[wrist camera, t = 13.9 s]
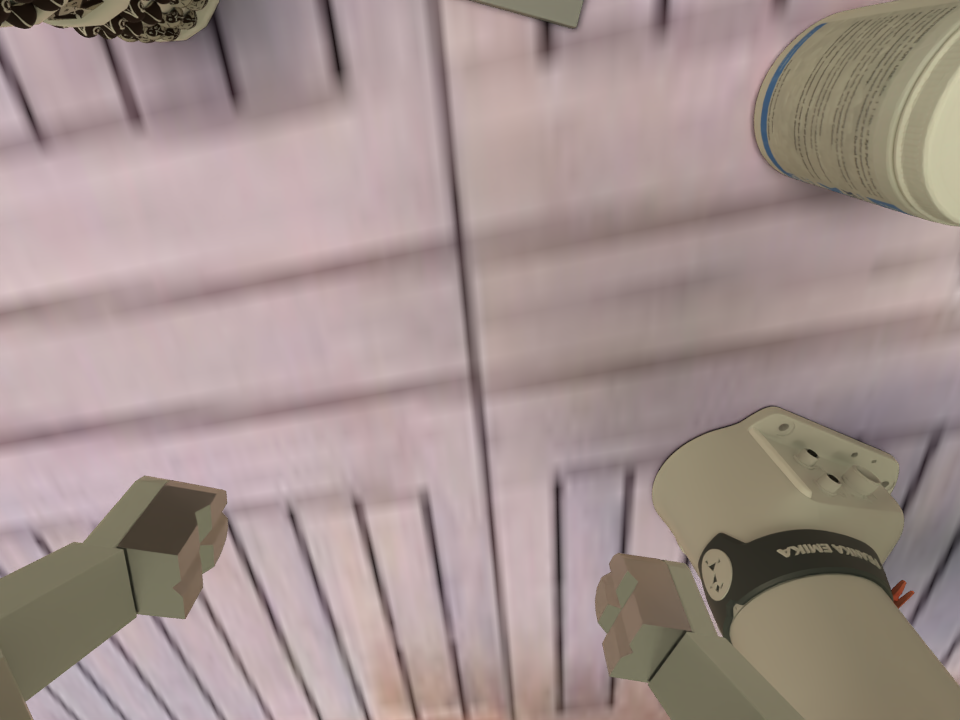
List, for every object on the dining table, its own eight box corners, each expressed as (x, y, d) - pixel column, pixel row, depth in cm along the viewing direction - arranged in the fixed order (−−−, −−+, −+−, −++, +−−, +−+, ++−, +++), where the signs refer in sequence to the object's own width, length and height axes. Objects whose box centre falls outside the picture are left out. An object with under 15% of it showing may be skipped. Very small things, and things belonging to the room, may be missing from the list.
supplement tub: (764, 201, 35) (923, 274, 23) (732, 63, 31) (903, 57, 18) (914, 131, 33) (1185, 169, 20) (901, -28, 29) (1231, -107, 16)
